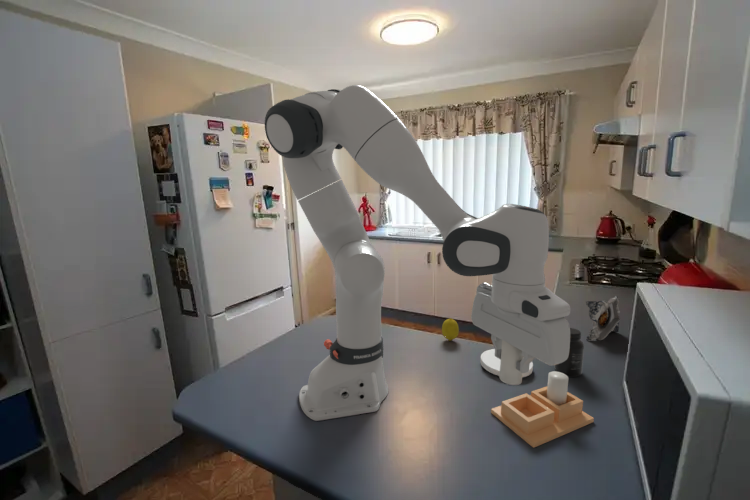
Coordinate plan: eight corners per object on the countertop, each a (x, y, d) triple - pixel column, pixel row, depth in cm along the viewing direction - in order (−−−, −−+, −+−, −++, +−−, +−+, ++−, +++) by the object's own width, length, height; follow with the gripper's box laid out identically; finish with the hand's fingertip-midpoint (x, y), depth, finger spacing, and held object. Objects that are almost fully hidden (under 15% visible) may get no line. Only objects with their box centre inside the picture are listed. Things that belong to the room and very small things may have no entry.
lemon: (458, 345, 114) (459, 322, 112) (441, 343, 115) (441, 320, 113) (458, 337, 119) (458, 315, 118) (441, 336, 120) (442, 314, 119)
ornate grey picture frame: (605, 329, 124) (609, 294, 122) (618, 333, 121) (623, 297, 118) (581, 338, 117) (585, 301, 115) (594, 343, 113) (599, 305, 111)
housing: (533, 447, 69) (536, 407, 67) (490, 412, 80) (492, 376, 78) (593, 422, 76) (597, 384, 75) (546, 393, 87) (549, 359, 85)
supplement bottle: (580, 367, 99) (584, 328, 96) (583, 379, 93) (587, 337, 90) (553, 362, 102) (556, 324, 99) (554, 374, 95) (557, 333, 93)
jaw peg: (510, 387, 64) (514, 346, 62) (494, 376, 67) (497, 337, 66) (526, 382, 65) (530, 342, 64) (510, 371, 69) (513, 334, 68)
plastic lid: (540, 367, 100) (540, 359, 99) (520, 388, 90) (520, 379, 89) (493, 351, 109) (494, 344, 109) (471, 368, 100) (471, 360, 99)
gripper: (466, 281, 71) (462, 344, 74) (552, 315, 53) (544, 397, 55) (489, 278, 74) (485, 339, 76) (580, 309, 55) (571, 388, 58)
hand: (511, 364), depth 66 cm, fingers closed on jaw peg, 4 cm apart
